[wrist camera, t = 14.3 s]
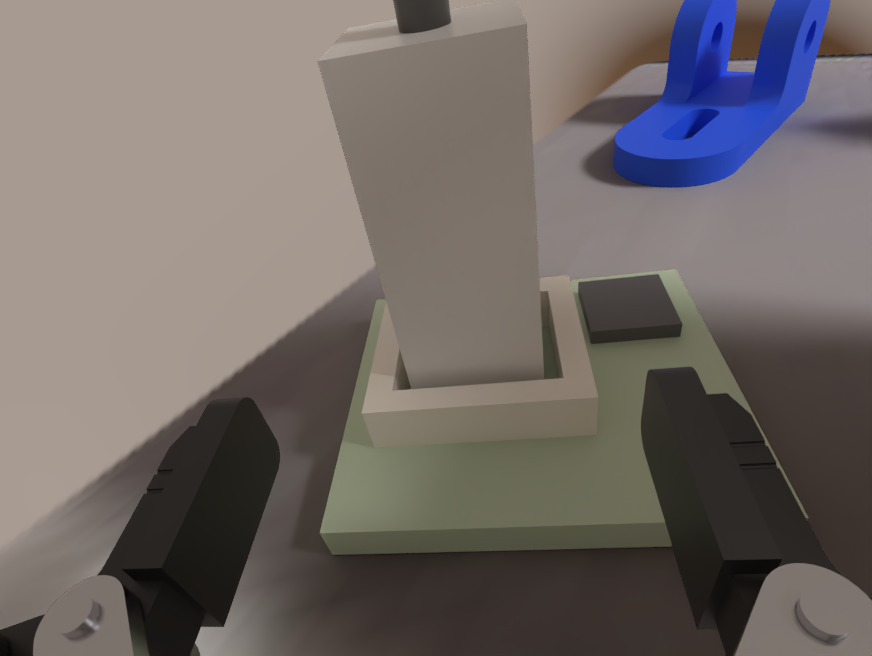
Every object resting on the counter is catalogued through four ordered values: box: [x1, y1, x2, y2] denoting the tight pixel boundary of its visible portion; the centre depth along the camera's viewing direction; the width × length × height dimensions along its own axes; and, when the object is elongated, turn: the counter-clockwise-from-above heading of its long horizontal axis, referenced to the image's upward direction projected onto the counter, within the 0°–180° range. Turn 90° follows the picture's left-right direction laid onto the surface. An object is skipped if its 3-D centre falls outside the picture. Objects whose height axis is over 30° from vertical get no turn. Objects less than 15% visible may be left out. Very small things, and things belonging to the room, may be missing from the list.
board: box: [320, 269, 809, 555], centre depth 21 cm, size 15×13×4 cm
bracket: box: [614, 0, 830, 187], centre depth 37 cm, size 18×8×9 cm, turn 137°
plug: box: [318, 0, 544, 389], centre depth 17 cm, size 5×5×16 cm
